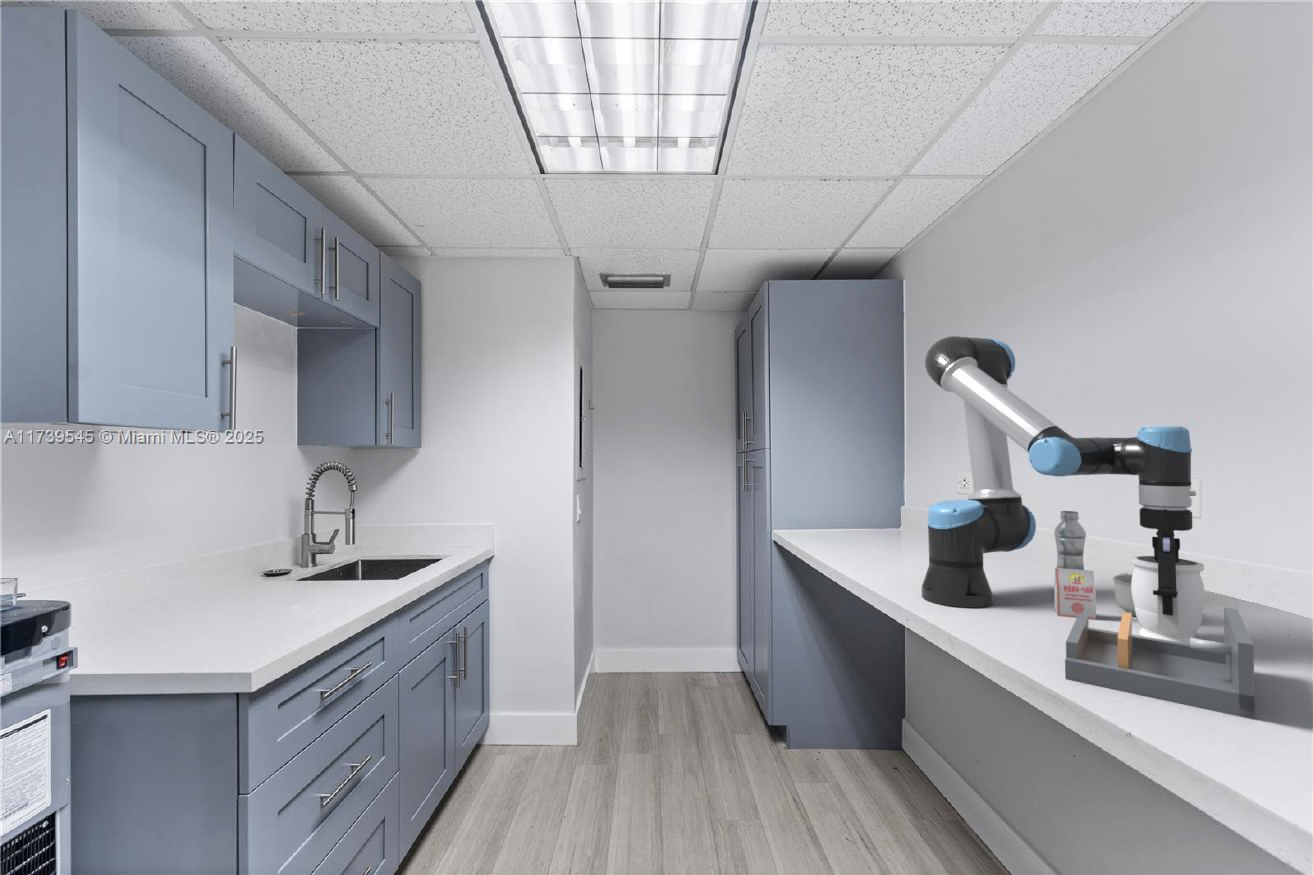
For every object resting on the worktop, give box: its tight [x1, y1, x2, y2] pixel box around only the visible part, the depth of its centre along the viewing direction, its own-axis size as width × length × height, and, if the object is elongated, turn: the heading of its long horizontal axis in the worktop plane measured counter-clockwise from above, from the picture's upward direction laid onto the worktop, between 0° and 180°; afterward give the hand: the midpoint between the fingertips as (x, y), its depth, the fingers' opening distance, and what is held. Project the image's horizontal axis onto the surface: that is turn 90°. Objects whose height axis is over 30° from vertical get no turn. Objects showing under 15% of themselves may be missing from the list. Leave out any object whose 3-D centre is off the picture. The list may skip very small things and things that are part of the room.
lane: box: [1064, 606, 1256, 720], centre depth 93 cm, size 21×22×10 cm
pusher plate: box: [1117, 611, 1133, 669], centre depth 95 cm, size 1×18×6 cm, turn 139°
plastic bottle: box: [1053, 510, 1087, 581], centre depth 145 cm, size 6×7×20 cm
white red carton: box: [1053, 567, 1097, 621], centre depth 125 cm, size 4×7×10 cm, turn 63°
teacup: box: [1112, 572, 1137, 618], centre depth 126 cm, size 14×11×8 cm
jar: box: [1130, 555, 1206, 644], centre depth 109 cm, size 11×10×15 cm
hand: (1167, 624), depth 109 cm, fingers open, 11 cm apart
